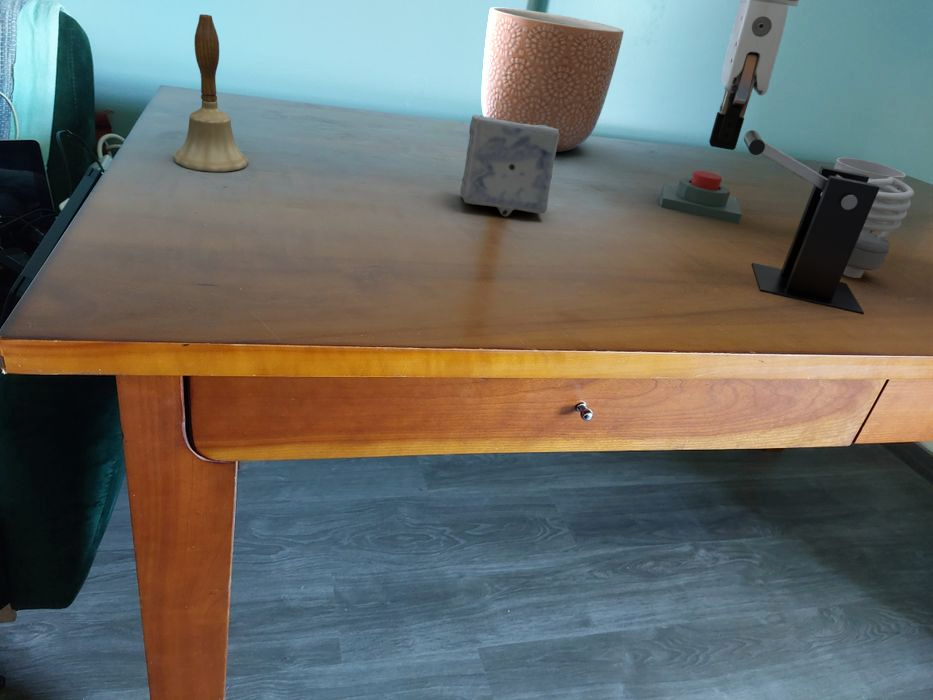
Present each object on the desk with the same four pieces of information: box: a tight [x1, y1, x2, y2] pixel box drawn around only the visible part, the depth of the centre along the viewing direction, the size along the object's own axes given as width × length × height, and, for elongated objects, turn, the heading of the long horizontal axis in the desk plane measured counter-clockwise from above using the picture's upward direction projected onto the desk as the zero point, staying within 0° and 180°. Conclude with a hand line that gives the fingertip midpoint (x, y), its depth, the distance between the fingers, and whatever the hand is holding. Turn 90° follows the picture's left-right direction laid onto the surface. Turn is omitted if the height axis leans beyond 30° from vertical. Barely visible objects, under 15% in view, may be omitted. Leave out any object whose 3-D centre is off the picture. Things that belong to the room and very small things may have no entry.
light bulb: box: [842, 177, 915, 279], centre depth 80 cm, size 6×6×12 cm
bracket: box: [751, 165, 880, 315], centre depth 73 cm, size 10×8×13 cm
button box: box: [658, 176, 742, 224], centre depth 97 cm, size 10×8×4 cm
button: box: [691, 170, 723, 190], centre depth 96 cm, size 4×4×2 cm
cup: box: [833, 157, 907, 234], centre depth 94 cm, size 8×8×10 cm
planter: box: [481, 6, 624, 153], centre depth 116 cm, size 21×21×19 cm
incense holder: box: [459, 114, 559, 217], centre depth 85 cm, size 10×8×10 cm
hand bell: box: [173, 13, 249, 173], centre depth 83 cm, size 8×8×16 cm
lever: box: [743, 129, 842, 196], centre depth 71 cm, size 12×5×2 cm, turn 76°
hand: (721, 146), depth 93 cm, fingers closed
